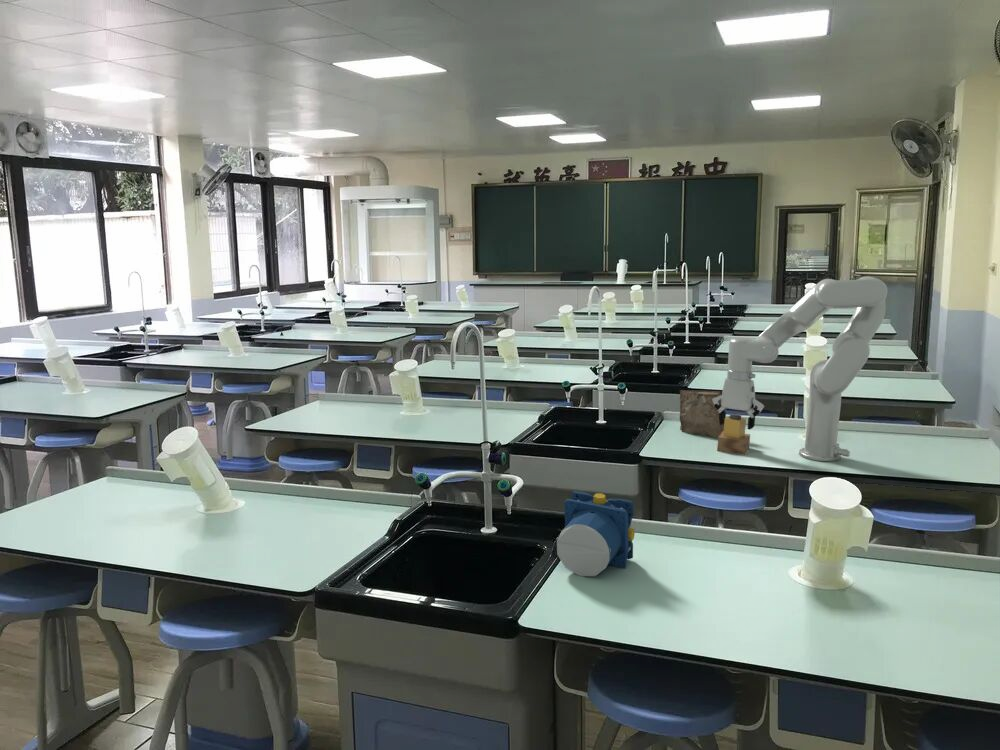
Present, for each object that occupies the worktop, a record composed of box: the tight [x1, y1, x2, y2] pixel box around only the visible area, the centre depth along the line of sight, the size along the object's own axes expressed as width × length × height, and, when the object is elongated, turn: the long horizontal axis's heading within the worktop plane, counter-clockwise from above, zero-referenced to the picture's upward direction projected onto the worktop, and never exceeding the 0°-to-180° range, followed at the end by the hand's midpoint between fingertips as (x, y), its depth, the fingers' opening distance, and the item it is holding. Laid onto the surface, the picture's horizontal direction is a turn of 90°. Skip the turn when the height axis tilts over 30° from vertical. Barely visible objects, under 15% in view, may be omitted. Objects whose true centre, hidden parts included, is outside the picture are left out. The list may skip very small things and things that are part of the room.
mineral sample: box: [679, 389, 724, 439], centre depth 283 cm, size 18×4×16 cm, turn 59°
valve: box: [556, 490, 636, 577], centre depth 171 cm, size 13×15×15 cm
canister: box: [723, 413, 747, 439], centre depth 264 cm, size 5×5×7 cm
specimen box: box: [716, 431, 751, 456], centre depth 265 cm, size 9×9×5 cm
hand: (736, 426), depth 264 cm, fingers open, 9 cm apart
